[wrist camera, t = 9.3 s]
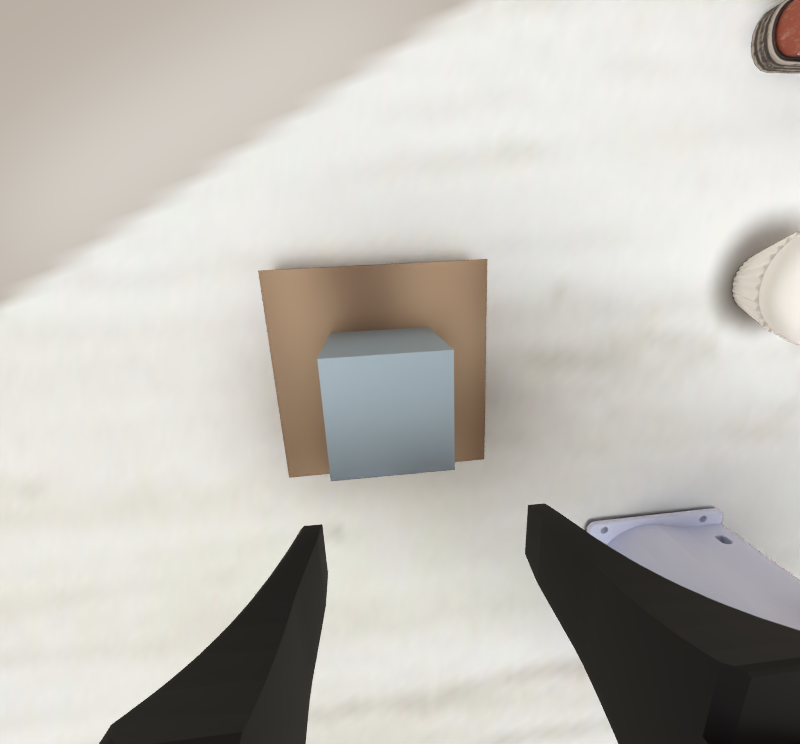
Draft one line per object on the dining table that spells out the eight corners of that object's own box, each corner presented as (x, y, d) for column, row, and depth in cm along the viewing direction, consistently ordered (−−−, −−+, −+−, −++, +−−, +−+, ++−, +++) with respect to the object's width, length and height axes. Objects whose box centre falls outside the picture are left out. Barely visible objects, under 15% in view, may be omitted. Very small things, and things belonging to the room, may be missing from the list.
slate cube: (428, 327, 17) (453, 349, 12) (430, 416, 18) (454, 469, 14) (330, 332, 17) (317, 359, 12) (339, 424, 18) (330, 481, 13)
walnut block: (468, 260, 19) (487, 259, 17) (468, 434, 22) (484, 459, 19) (274, 270, 19) (258, 270, 16) (299, 449, 21) (289, 477, 18)
